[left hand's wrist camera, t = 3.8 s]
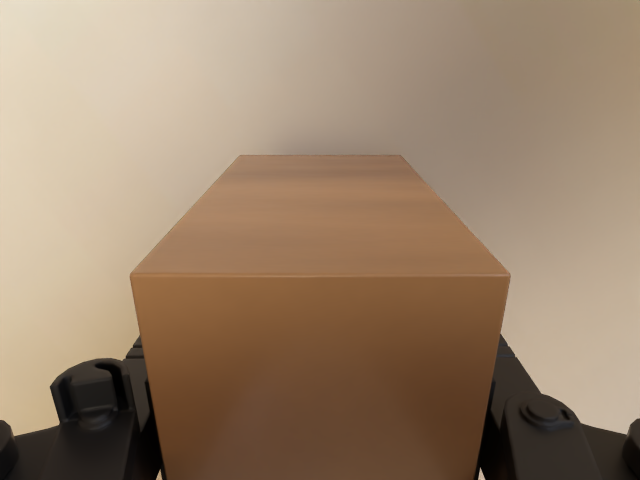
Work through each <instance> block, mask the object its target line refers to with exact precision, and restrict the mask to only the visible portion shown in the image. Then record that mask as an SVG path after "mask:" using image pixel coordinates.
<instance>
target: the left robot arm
mask: <svg viewBox="0 0 640 480" xmlns="http://www.w3.org/2000/svg"><path fill="white" fill-rule="evenodd" d="M50 389H51V393H52V396H53V400H54V404H55V407H56V411H57V414H58V418H59V421H60V424H59V425H58V426H55V427H51V428H48V429H44V430H40V431H35V432H31V433H27V434H22V435H18V436H14V435H13V432H12V429H11V426H10V425H8V424H7V423H6V422H5V421H3V420H0V480H156V478H157V475H158V473H159V470H161V475H162V480H166V475H165V469H164V464H163V458H162V453H161V447H160V442H159V436H158V431H157V425H156V419H155V414H154V408H153V403H152V397H151V392H150V386H149V381H148V375H147V369H146V364H145V358H144V353H143V347H142V342H141V336H139V337H138V339H137V340H136V342H135V343H134V345H133V348H131V349H130V351H129V352H128V354H127V355H126V359H123V361H120V360H116V359H112V358H102V359H94V360H90V361H86V362H82V363H80V364H78V365H76V366H74V367H71V368H69V369H68V370H66V371H65V372H63V373H62V374H61V375H59V376H58V377H57V378H56V379H55V380H54V382H53V383H52V384H51V386H50ZM480 467H481V470H482V472H483V475H484V477H485V480H640V418H639V419H636V420H635V421H634V422H633V423H632V424H631V425H630V427H629V430H628V433H627V435H626V434H621V433H617V432H613V431H608V430H604V429H600V428H595V427H592V426H588V425H585V424H582V423H580V421H579V419H578V418H577V416H576V415H575V413H574V412H573V411H572V410H571V409H569V408H568V407H567V406H566V405H565V404H563V403H562V402H560V401H558V400H556V399H554V398H552V397H550V396H548V395H544V394H541V392H540V391H539V389H538V388H537V386H536V385H535V384H534V382H533V381H532V379H531V378H530V376H529V375H528V373H527V372H526V370H525V369H524V367H523V366H522V364H521V363H520V361H519V360H518V359H517V357H515V354H514V353H513V351H512V350H511V348H510V347H508V344H507V342H506V341H505V339H504V338H503V336H502V335H501V334H500V338H499V343H498V349H497V355H496V360H495V366H494V371H493V377H492V382H491V388H490V394H489V399H488V405H487V410H486V416H485V421H484V427H483V433H482V438H481V444H480V449H479V455H478V461H477V466H476V472H475V477H474V480H478V477H479V471H480Z"/></svg>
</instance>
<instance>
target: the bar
mask: <svg viewBox="0 0 640 480" xmlns="http://www.w3.org/2000/svg"><path fill="white" fill-rule="evenodd" d="M130 281H131V286H132V292H133V297H134V303H135V308H136V314H137V319H138V325H139V331H140V336H141V342H142V347H143V353H144V358H145V364H146V369H147V375H148V381H149V386H150V392H151V397H152V403H153V408H154V414H155V419H156V425H157V431H158V436H159V442H160V447H161V453H162V458H163V464H164V469H165V475H166V480H474V477H475V472H476V466H477V461H478V455H479V449H480V444H481V438H482V433H483V427H484V421H485V416H486V410H487V405H488V399H489V394H490V388H491V382H492V377H493V371H494V366H495V360H496V355H497V349H498V343H499V338H500V332H501V327H502V321H503V316H504V310H505V304H506V299H507V293H508V288H509V282H510V273H509V272H508V271H507V270H506V269H505V268H504V267H503V266H502V265H501V263H500V262H499V261H498V260H497V259H496V258H495V257H494V256H493V255H492V254H491V253H490V252H489V250H488V249H487V248H486V247H485V246H484V245H483V244H482V243H481V242H480V241H479V240H478V239H477V237H476V236H475V235H474V234H473V233H472V232H471V231H470V230H469V229H468V228H467V227H466V226H465V225H464V223H463V222H462V221H461V220H460V219H459V218H458V217H457V216H456V215H455V214H454V213H453V212H452V210H451V209H450V208H449V207H448V206H447V205H446V204H445V203H444V202H443V201H442V200H441V199H440V197H439V196H438V195H437V194H436V193H435V192H434V191H433V190H432V189H431V188H430V187H429V186H428V184H427V183H426V182H425V181H424V180H423V179H422V178H421V177H420V176H419V175H418V174H417V173H416V171H415V170H414V169H413V168H412V167H411V166H410V165H409V164H408V163H407V162H406V161H405V160H404V158H403V157H402V156H401V155H240V156H239V157H238V158H237V159H236V160H235V161H234V162H233V163H232V164H231V165H230V167H229V168H228V169H227V170H226V171H225V172H224V173H223V174H222V175H221V176H220V177H219V178H218V180H217V181H216V182H215V183H214V184H213V185H212V186H211V187H210V188H209V189H208V190H207V191H206V192H205V194H204V195H203V196H202V197H201V198H200V199H199V200H198V201H197V202H196V203H195V204H194V205H193V207H192V208H191V209H190V210H189V211H188V212H187V213H186V214H185V215H184V216H183V217H182V218H181V220H180V221H179V222H178V223H177V224H176V225H175V226H174V227H173V228H172V229H171V230H170V231H169V232H168V234H167V235H166V236H165V237H164V238H163V239H162V240H161V241H160V242H159V243H158V244H157V245H156V247H155V248H154V249H153V250H152V251H151V252H150V253H149V254H148V255H147V256H146V257H145V258H144V259H143V261H142V262H141V263H140V264H139V265H138V266H137V267H136V268H135V269H134V270H133V271H132V272H131V274H130Z"/></svg>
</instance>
